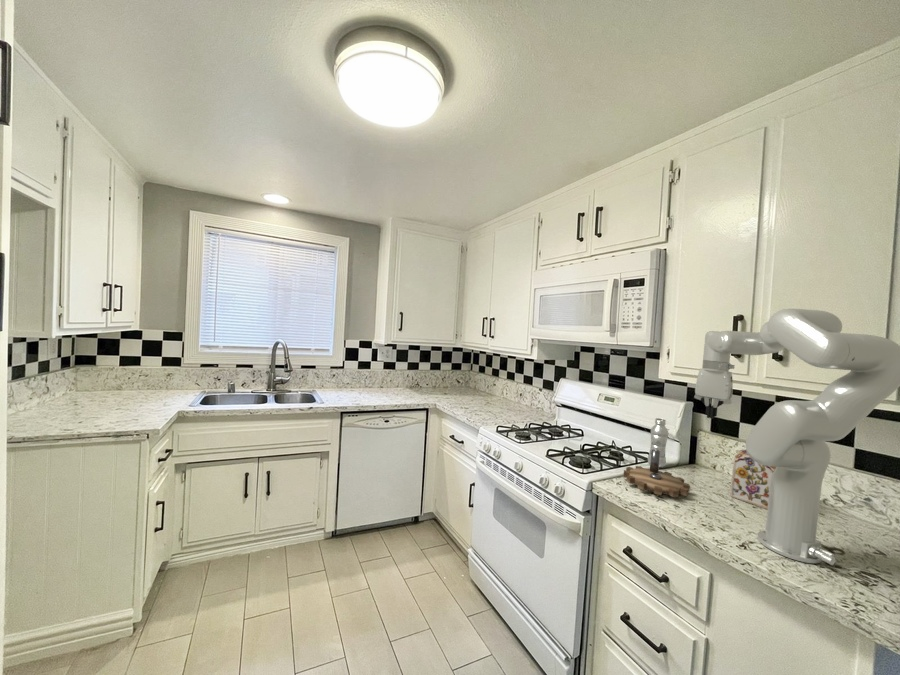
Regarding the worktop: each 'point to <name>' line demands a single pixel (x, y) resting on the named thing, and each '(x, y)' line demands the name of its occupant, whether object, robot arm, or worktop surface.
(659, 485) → the sprocket
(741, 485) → the decorative jar
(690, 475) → the worktop surface
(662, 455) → the plastic bottle
